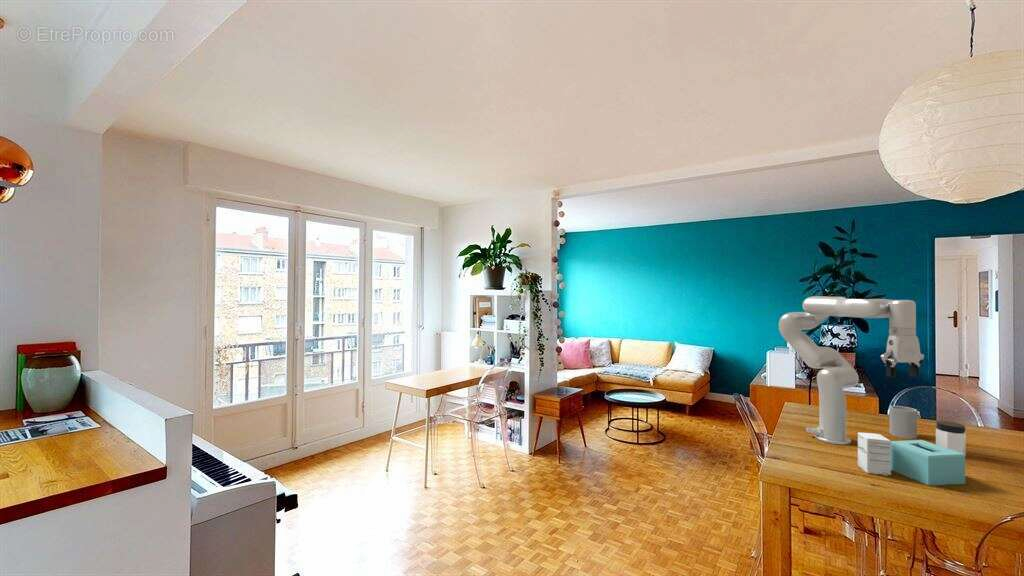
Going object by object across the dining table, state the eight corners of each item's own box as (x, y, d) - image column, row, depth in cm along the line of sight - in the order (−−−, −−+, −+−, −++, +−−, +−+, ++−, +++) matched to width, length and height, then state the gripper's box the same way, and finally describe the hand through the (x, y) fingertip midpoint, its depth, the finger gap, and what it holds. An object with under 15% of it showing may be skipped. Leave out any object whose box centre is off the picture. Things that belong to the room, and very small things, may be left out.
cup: (888, 430, 203) (888, 404, 203) (915, 434, 198) (915, 407, 198) (891, 435, 196) (891, 409, 196) (918, 439, 191) (918, 412, 191)
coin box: (928, 485, 146) (928, 455, 146) (887, 468, 160) (887, 441, 160) (965, 483, 148) (965, 454, 148) (922, 466, 161) (922, 439, 161)
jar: (962, 459, 169) (962, 428, 169) (933, 452, 175) (933, 423, 175) (968, 454, 173) (968, 424, 173) (940, 448, 180) (940, 419, 180)
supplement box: (857, 465, 163) (857, 431, 163) (880, 468, 160) (880, 433, 160) (866, 473, 155) (866, 438, 156) (891, 476, 153) (891, 440, 153)
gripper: (891, 333, 162) (891, 379, 162) (933, 333, 164) (933, 378, 164) (872, 331, 169) (872, 375, 169) (912, 331, 171) (912, 374, 171)
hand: (902, 377), depth 166 cm, fingers open, 9 cm apart
